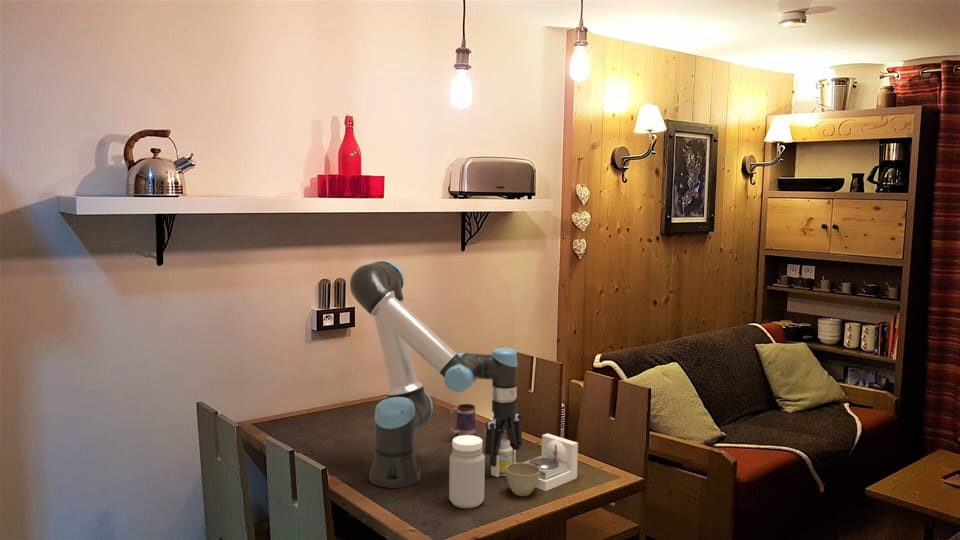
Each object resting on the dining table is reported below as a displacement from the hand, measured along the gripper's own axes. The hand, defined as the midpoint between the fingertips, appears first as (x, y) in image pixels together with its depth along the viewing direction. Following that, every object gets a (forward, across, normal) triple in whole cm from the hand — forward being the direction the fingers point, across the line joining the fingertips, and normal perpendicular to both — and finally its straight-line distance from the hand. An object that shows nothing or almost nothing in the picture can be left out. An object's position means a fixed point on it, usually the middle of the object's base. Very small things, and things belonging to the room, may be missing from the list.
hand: (503, 472), depth 234 cm
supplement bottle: (+1, 0, 0) cm, 1 cm away
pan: (-3, +5, -12) cm, 13 cm away
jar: (+1, -23, -8) cm, 24 cm away
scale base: (0, +6, -12) cm, 13 cm away
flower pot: (+1, -7, -14) cm, 15 cm away
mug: (0, +12, +31) cm, 33 cm away
